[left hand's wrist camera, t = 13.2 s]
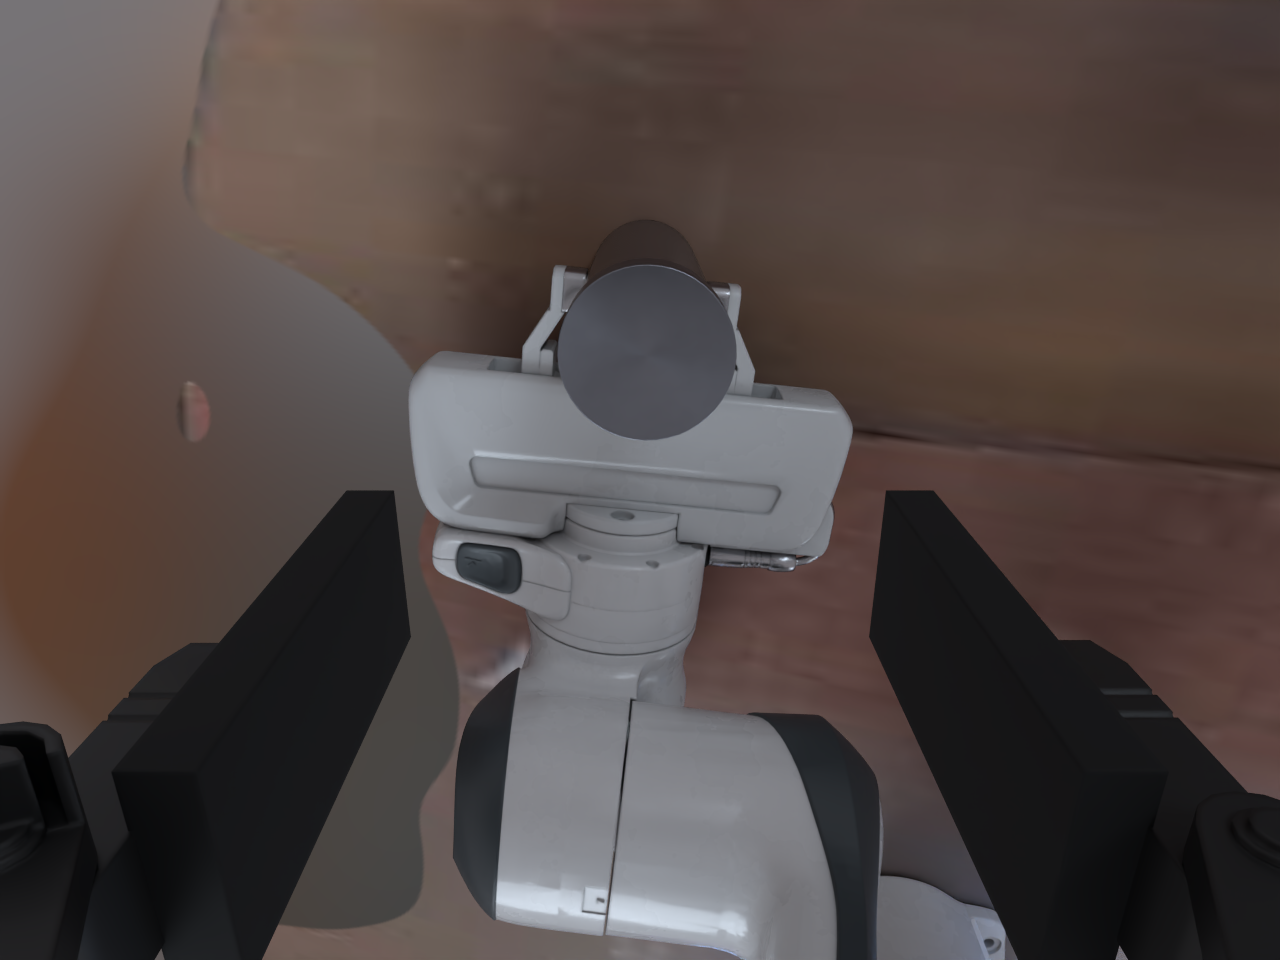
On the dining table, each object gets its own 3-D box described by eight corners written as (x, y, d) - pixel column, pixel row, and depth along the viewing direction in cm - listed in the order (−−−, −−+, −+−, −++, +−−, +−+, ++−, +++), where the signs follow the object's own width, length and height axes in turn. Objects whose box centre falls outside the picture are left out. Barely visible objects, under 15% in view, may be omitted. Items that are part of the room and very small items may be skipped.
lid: (600, 449, 30) (598, 465, 29) (533, 296, 28) (527, 305, 27) (755, 391, 30) (760, 404, 28) (697, 230, 28) (700, 235, 26)
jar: (616, 341, 45) (602, 453, 29) (576, 243, 43) (537, 306, 27) (712, 303, 45) (752, 397, 28) (675, 203, 43) (695, 242, 27)
